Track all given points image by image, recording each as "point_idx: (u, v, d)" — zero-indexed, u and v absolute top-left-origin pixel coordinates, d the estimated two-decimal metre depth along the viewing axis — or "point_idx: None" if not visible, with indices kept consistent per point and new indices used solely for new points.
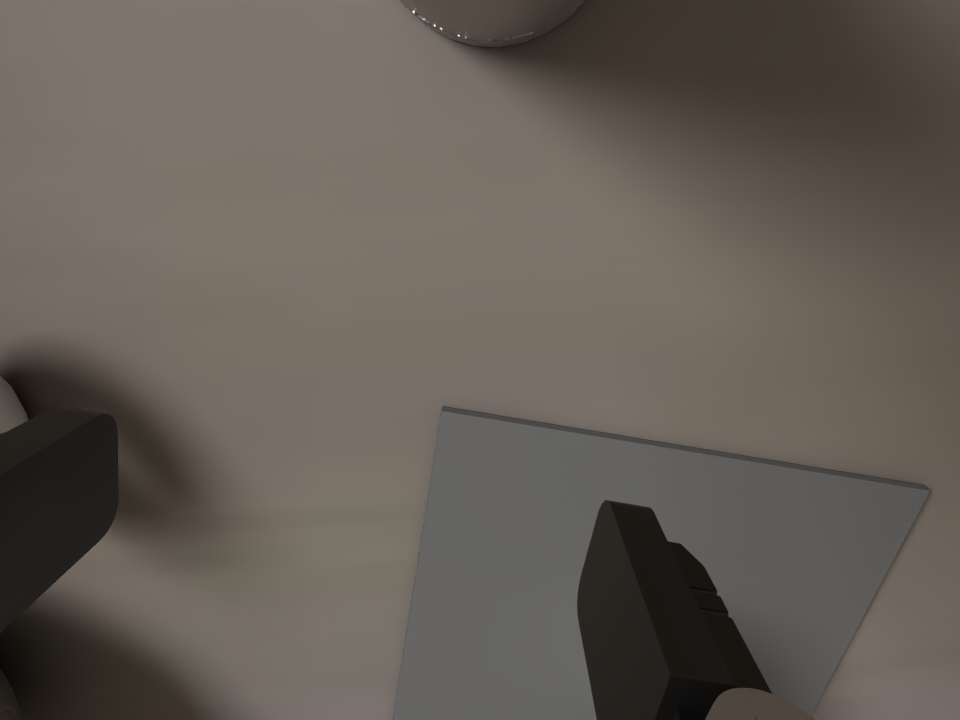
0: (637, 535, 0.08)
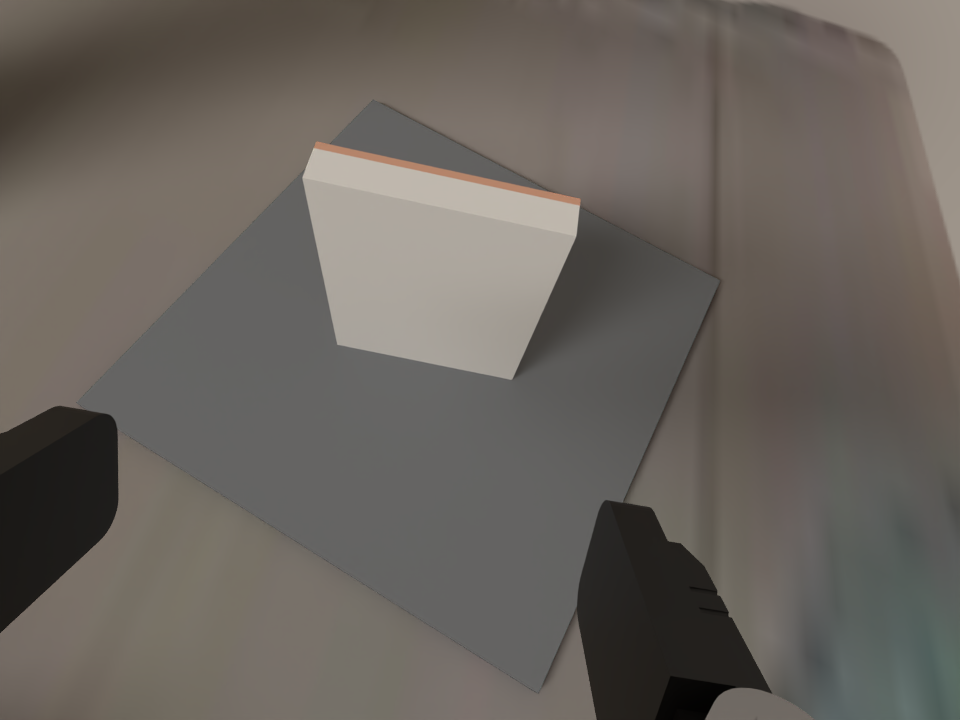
0: (637, 535, 0.08)
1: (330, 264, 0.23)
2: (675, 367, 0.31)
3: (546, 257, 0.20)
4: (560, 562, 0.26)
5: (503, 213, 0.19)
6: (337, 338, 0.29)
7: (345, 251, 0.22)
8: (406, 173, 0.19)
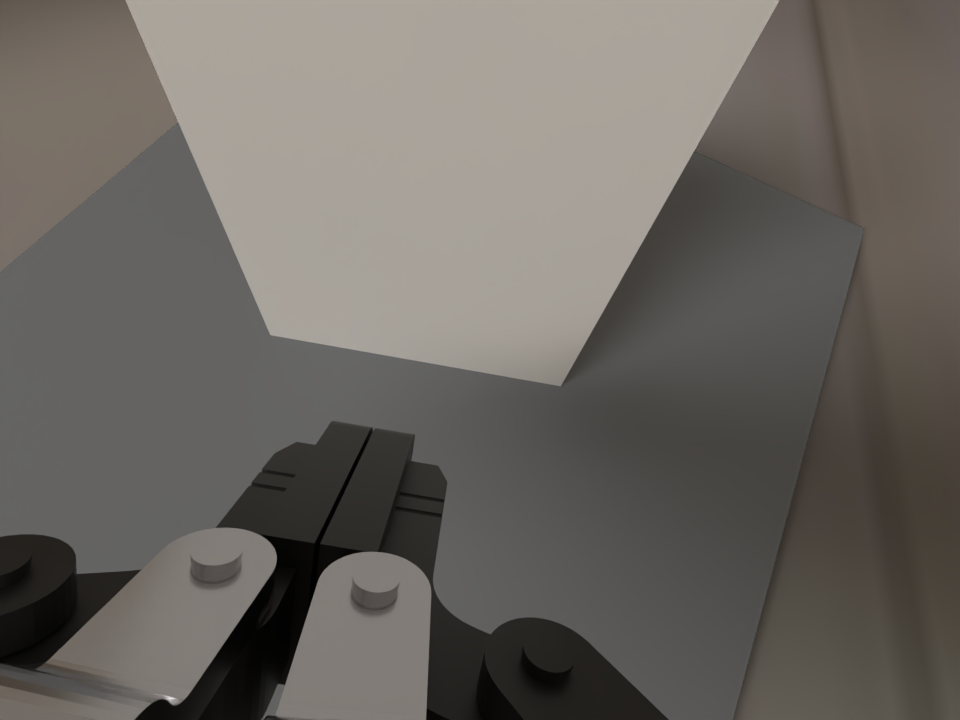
0: (379, 451, 0.09)
1: (212, 156, 0.11)
2: (819, 360, 0.20)
3: (681, 88, 0.09)
4: (670, 717, 0.14)
5: None
6: (267, 323, 0.17)
7: (232, 117, 0.10)
8: None
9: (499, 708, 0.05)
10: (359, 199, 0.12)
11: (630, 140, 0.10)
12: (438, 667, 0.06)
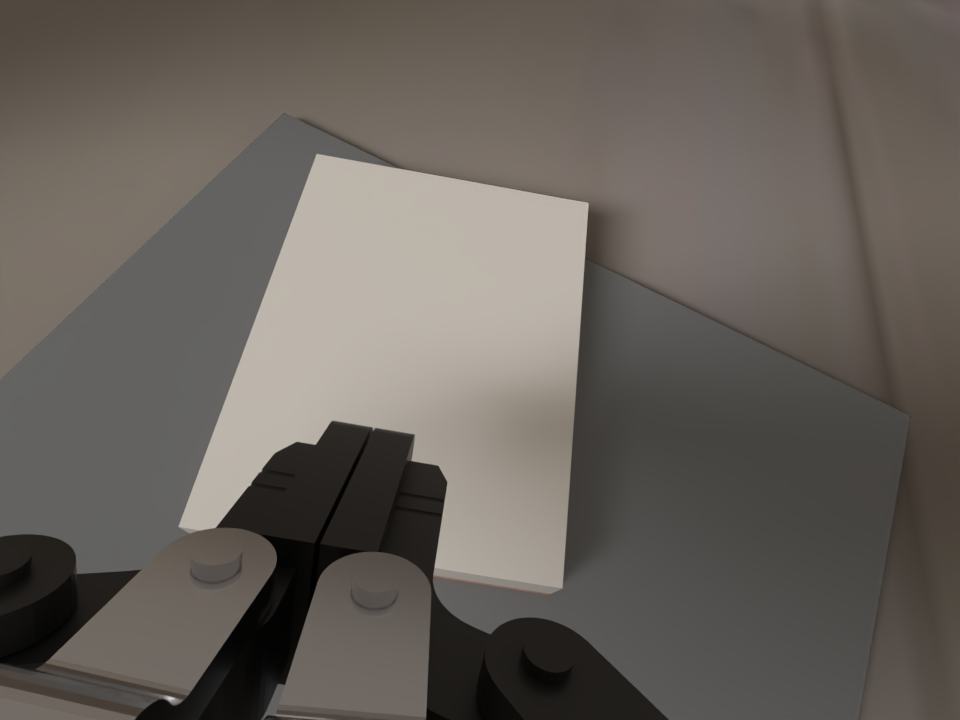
0: (379, 452, 0.09)
1: (287, 273, 0.17)
2: (864, 614, 0.16)
3: (565, 233, 0.19)
4: None
5: None
6: (193, 496, 0.14)
7: (320, 248, 0.17)
8: None
9: (499, 708, 0.05)
10: (381, 303, 0.17)
11: (550, 258, 0.18)
12: (438, 667, 0.06)
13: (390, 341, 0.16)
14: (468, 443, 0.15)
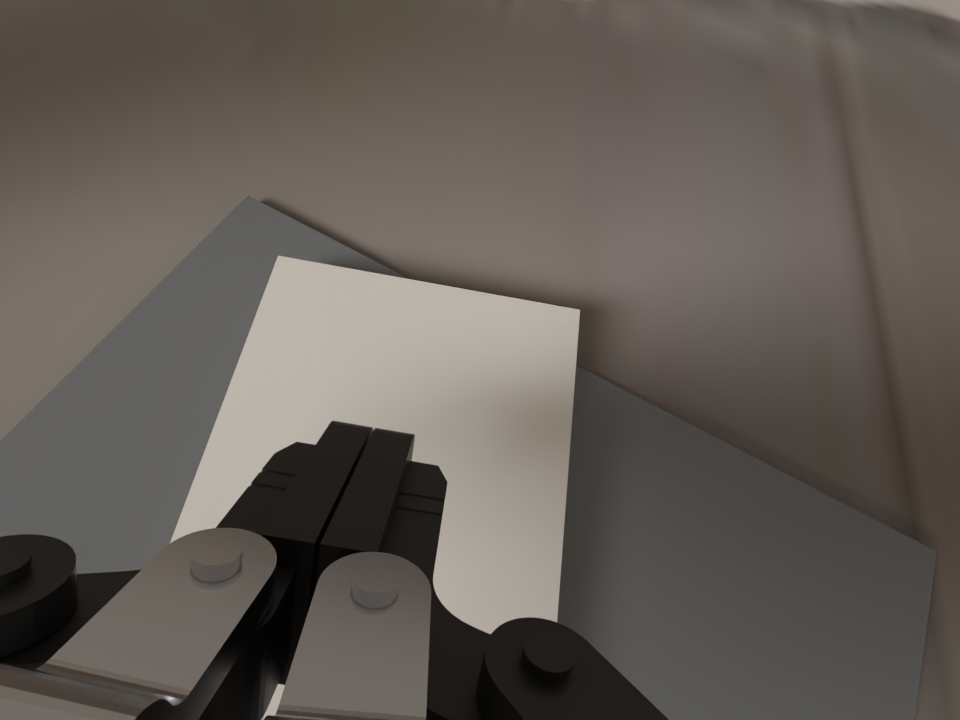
0: (380, 451, 0.09)
1: (238, 405, 0.15)
2: None
3: (554, 348, 0.17)
4: None
5: None
6: None
7: (277, 372, 0.15)
8: None
9: (499, 708, 0.05)
10: None
11: (536, 379, 0.16)
12: (438, 667, 0.06)
13: None
14: None
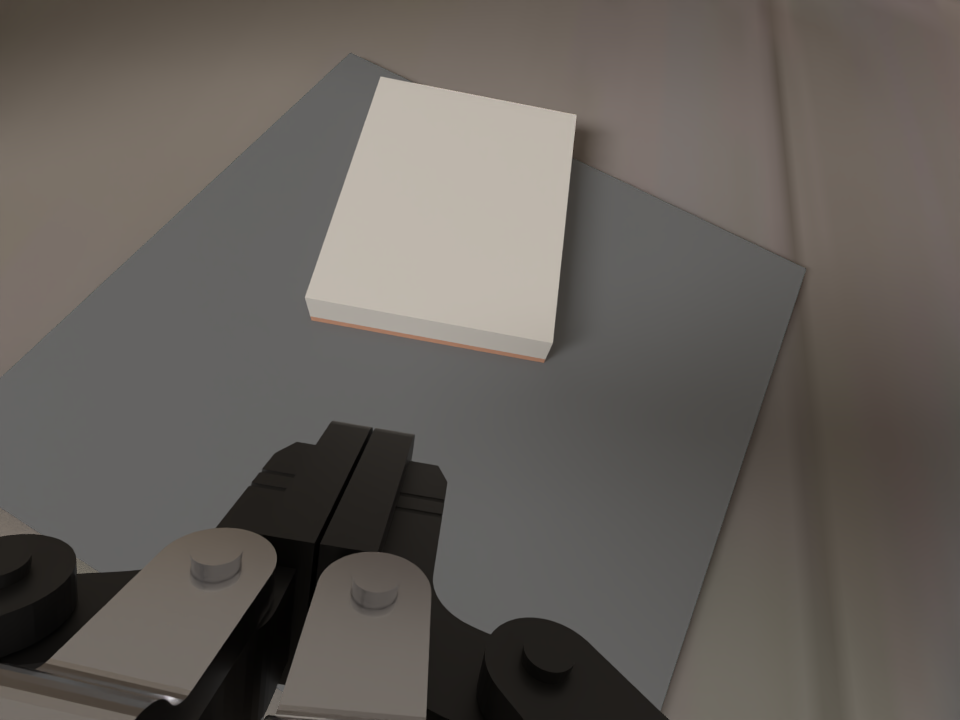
0: (380, 451, 0.09)
1: (364, 153, 0.24)
2: (759, 384, 0.23)
3: (559, 134, 0.26)
4: None
5: None
6: (312, 281, 0.21)
7: (386, 137, 0.25)
8: None
9: (499, 708, 0.05)
10: (430, 174, 0.24)
11: (548, 150, 0.25)
12: (438, 667, 0.06)
13: (437, 197, 0.24)
14: (491, 259, 0.22)
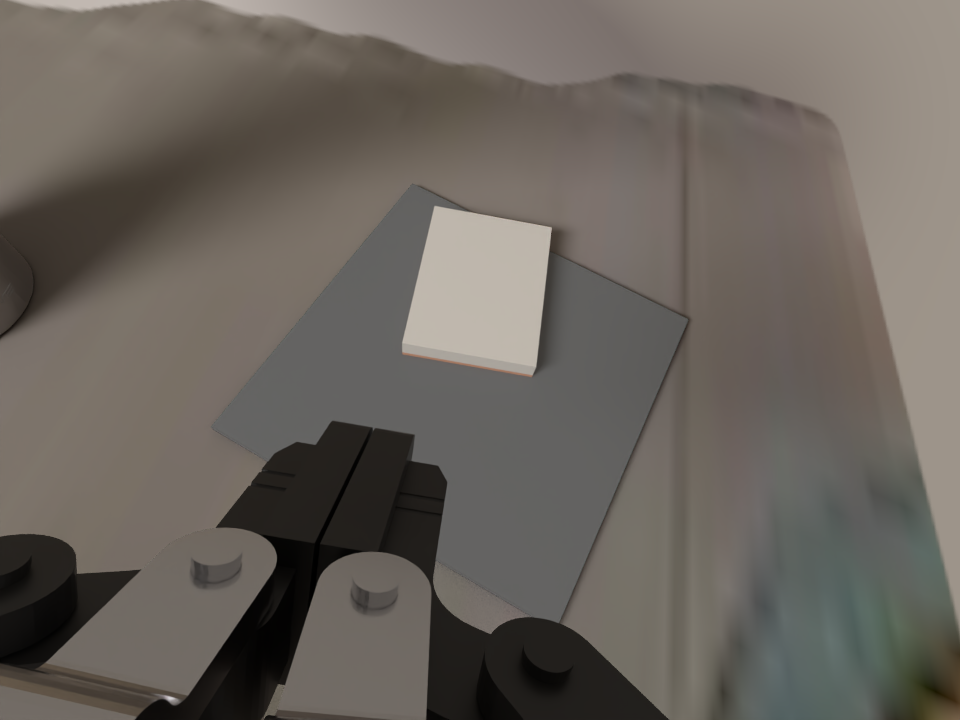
0: (379, 451, 0.09)
1: (428, 256, 0.42)
2: (654, 388, 0.41)
3: (541, 240, 0.44)
4: (569, 536, 0.36)
5: None
6: (405, 334, 0.39)
7: (440, 246, 0.42)
8: None
9: (499, 708, 0.05)
10: (466, 268, 0.42)
11: (534, 251, 0.43)
12: (438, 667, 0.06)
13: (470, 283, 0.41)
14: (502, 319, 0.40)
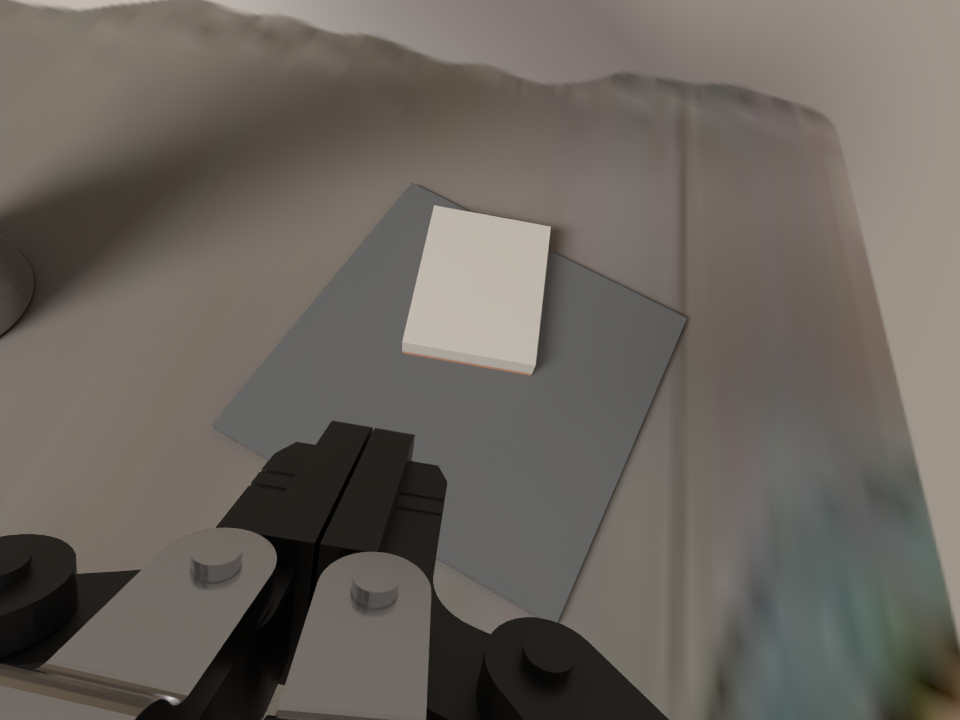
0: (380, 451, 0.09)
1: (428, 255, 0.42)
2: (652, 387, 0.41)
3: (540, 240, 0.44)
4: (568, 534, 0.36)
5: None
6: (405, 333, 0.39)
7: (440, 245, 0.43)
8: None
9: (499, 708, 0.05)
10: (465, 267, 0.42)
11: (533, 250, 0.43)
12: (438, 667, 0.06)
13: (470, 282, 0.42)
14: (501, 318, 0.40)
